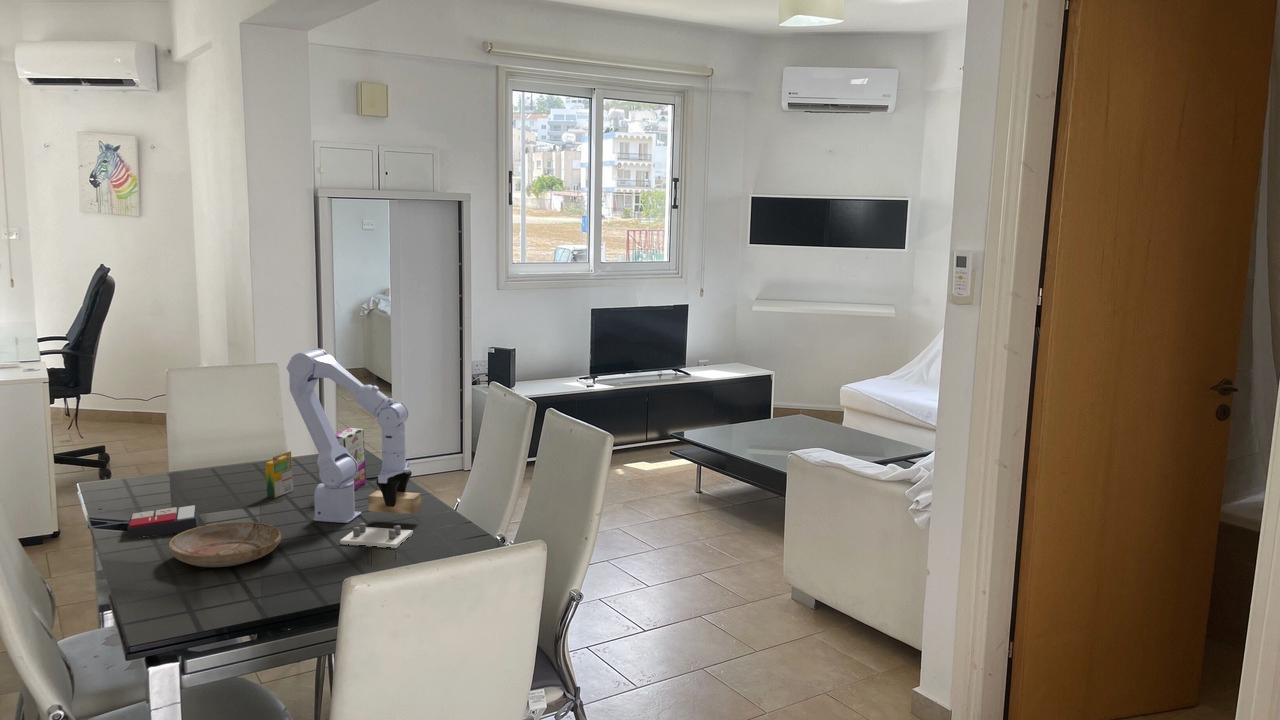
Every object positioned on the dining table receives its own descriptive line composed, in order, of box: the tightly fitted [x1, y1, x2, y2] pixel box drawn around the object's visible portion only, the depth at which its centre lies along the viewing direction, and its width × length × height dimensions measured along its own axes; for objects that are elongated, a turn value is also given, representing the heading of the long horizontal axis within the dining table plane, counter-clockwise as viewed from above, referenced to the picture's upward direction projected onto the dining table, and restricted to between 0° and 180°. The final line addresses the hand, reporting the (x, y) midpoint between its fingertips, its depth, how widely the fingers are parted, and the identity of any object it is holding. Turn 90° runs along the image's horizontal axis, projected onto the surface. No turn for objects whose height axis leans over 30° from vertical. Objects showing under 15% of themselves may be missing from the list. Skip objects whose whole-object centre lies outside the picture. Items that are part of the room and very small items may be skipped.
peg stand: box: [339, 522, 414, 549], centre depth 227 cm, size 14×10×3 cm
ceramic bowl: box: [168, 521, 282, 568], centre depth 214 cm, size 23×24×5 cm
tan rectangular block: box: [367, 489, 422, 515], centre depth 240 cm, size 12×5×4 cm, turn 81°
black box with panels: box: [126, 505, 199, 540], centre depth 233 cm, size 11×4×15 cm
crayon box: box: [265, 450, 294, 499], centre depth 262 cm, size 7×3×12 cm, turn 159°
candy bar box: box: [334, 427, 367, 491], centre depth 267 cm, size 11×5×16 cm, turn 168°
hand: (394, 502), depth 240 cm, fingers closed on tan rectangular block, 5 cm apart
